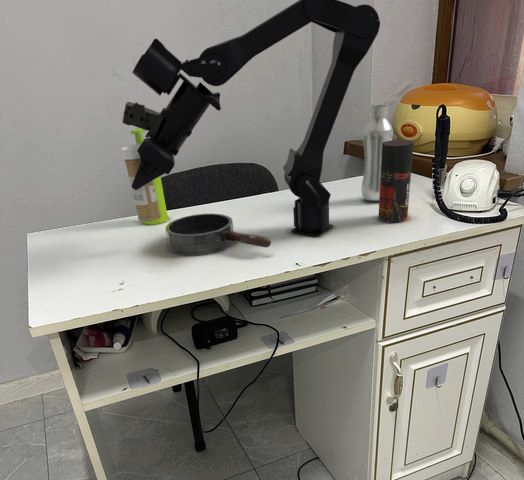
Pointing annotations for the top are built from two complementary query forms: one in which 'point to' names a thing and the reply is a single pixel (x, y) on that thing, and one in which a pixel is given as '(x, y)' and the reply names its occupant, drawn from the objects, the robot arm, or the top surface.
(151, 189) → the sprinkles bottle
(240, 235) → the pan handle
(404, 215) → the deodorant
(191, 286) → the top surface
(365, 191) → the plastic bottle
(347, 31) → the robot arm
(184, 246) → the pan
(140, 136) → the soap dispenser
